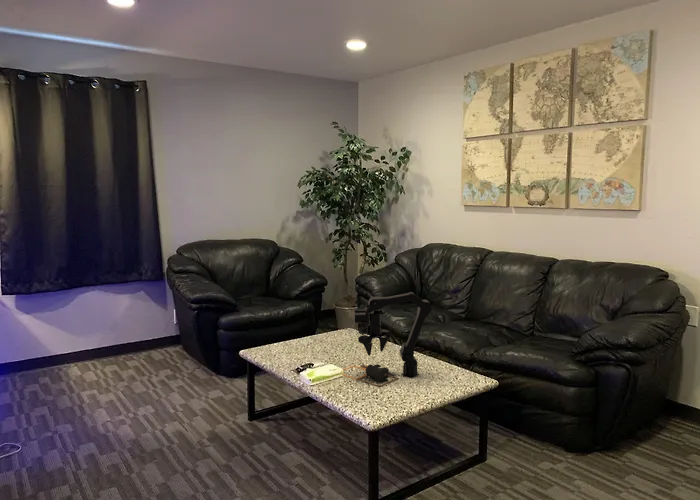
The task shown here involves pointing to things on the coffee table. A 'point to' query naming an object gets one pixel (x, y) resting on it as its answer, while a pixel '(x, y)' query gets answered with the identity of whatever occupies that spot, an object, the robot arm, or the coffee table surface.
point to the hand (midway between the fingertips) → (375, 353)
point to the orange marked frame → (353, 377)
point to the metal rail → (385, 373)
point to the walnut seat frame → (376, 384)
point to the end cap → (377, 373)
